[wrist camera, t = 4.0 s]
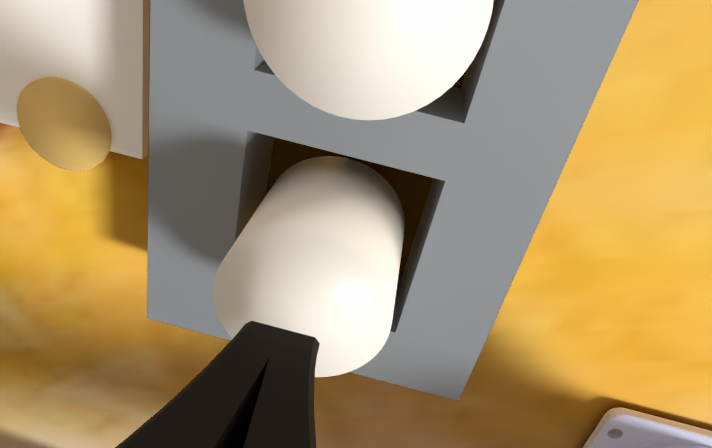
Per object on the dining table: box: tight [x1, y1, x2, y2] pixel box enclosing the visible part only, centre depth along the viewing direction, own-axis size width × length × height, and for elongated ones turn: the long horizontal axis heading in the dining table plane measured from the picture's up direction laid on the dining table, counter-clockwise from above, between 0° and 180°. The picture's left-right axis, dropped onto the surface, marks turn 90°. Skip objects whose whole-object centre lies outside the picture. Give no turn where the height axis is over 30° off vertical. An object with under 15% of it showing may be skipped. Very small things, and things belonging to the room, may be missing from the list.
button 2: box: [213, 156, 405, 377], centre depth 13 cm, size 4×4×4 cm
